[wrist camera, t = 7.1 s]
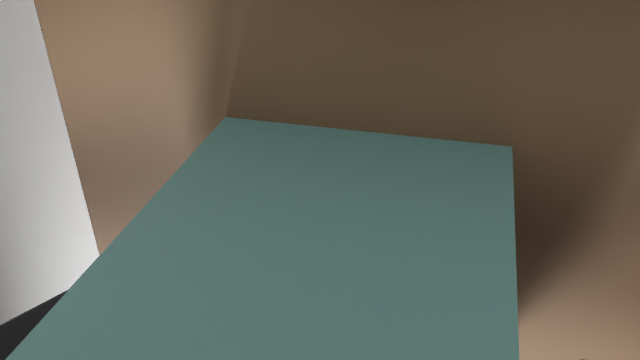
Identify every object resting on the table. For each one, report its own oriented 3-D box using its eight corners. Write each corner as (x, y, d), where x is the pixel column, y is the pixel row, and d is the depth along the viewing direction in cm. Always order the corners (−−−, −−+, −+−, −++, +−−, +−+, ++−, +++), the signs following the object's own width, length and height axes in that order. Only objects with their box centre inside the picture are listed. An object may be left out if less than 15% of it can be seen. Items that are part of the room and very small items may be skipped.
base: (601, 407, 15) (616, 499, 13) (176, 325, 18) (135, 391, 16) (786, -103, 9) (870, -79, 7) (94, -115, 12) (8, -99, 10)
